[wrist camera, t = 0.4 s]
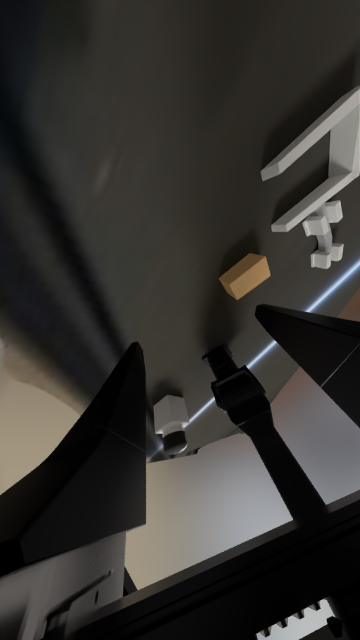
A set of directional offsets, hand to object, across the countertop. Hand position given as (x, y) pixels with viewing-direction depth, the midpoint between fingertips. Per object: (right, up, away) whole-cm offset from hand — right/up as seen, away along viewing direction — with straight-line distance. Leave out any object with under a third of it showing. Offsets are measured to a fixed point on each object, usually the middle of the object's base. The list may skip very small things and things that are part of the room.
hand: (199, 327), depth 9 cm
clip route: (+22, +15, +13) cm, 29 cm away
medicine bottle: (-5, -26, +33) cm, 42 cm away
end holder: (+14, +19, +7) cm, 24 cm away
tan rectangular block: (+8, +9, +13) cm, 18 cm away
